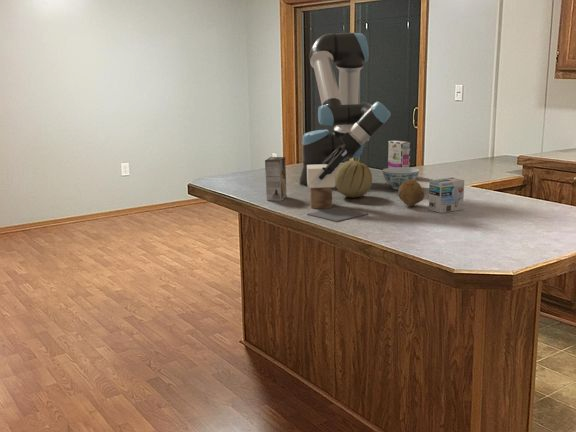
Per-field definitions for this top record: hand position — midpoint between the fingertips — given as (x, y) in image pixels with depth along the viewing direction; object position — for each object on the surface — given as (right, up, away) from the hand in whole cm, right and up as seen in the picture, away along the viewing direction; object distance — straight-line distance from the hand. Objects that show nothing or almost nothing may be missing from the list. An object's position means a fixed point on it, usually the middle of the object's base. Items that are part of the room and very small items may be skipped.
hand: (312, 182), depth 227 cm
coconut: (+35, -9, -3) cm, 37 cm away
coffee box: (-14, -6, +18) cm, 23 cm away
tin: (+3, -9, +2) cm, 9 cm away
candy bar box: (+42, +6, +58) cm, 72 cm away
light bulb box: (+47, -10, -10) cm, 49 cm away
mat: (+8, -12, -13) cm, 19 cm away
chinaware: (+38, -1, +31) cm, 49 cm away
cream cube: (+3, -1, 0) cm, 3 cm away
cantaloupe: (+17, -5, +15) cm, 23 cm away
